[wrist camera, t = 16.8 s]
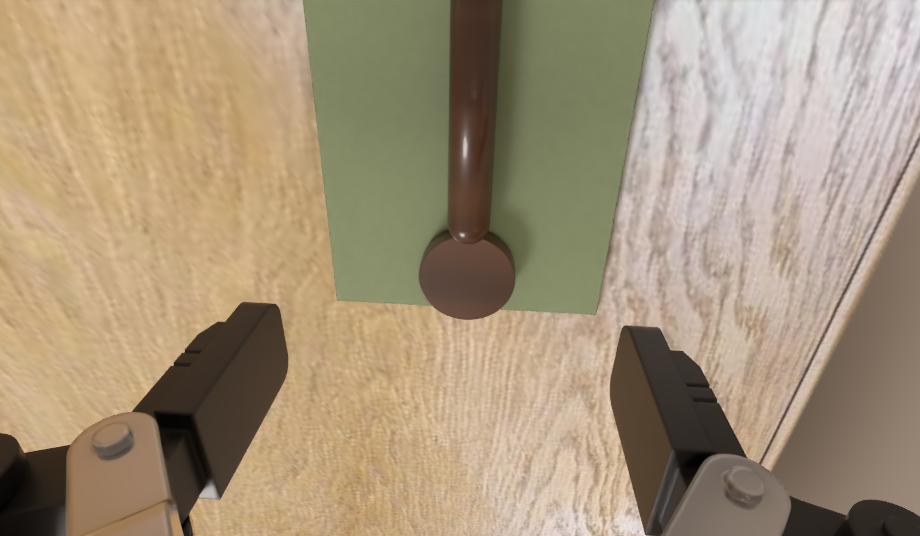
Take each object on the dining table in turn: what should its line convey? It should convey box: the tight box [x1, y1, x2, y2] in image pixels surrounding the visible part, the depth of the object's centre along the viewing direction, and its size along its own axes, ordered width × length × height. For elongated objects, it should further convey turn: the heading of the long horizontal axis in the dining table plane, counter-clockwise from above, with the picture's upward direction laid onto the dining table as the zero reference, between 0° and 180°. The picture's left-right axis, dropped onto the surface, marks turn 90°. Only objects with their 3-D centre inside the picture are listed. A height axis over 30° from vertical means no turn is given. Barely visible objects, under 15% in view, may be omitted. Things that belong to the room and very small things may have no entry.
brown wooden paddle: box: [419, 0, 515, 320], centre depth 22 cm, size 17×5×2 cm, turn 179°
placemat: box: [303, 0, 654, 315], centre depth 23 cm, size 18×14×1 cm
